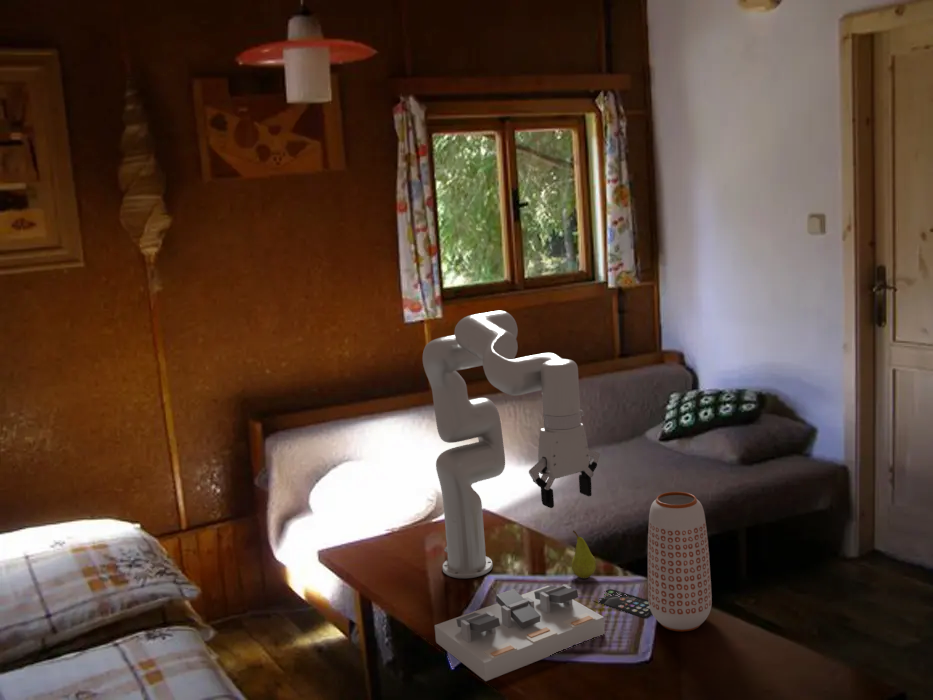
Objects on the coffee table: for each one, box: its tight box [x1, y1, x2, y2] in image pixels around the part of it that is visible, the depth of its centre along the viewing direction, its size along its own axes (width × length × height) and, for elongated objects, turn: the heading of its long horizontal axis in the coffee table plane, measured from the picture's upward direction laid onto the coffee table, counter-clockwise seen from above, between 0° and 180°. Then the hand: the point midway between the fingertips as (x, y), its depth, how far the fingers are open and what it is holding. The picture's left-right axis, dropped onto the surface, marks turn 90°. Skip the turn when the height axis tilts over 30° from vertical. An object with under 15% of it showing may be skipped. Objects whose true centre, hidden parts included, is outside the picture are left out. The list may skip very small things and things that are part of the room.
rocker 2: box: [495, 588, 541, 628], centre depth 210 cm, size 10×5×2 cm, turn 32°
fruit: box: [571, 530, 597, 579], centre depth 237 cm, size 6×6×12 cm
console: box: [434, 583, 606, 682], centre depth 210 cm, size 20×30×8 cm, turn 121°
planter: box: [647, 491, 713, 632], centre depth 210 cm, size 13×13×28 cm
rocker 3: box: [534, 585, 579, 603], centre depth 215 cm, size 10×5×2 cm, turn 30°
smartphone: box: [598, 588, 653, 619], centre depth 223 cm, size 7×1×15 cm
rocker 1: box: [456, 613, 500, 633], centre depth 205 cm, size 10×5×2 cm, turn 30°
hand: (567, 500), depth 204 cm, fingers open, 9 cm apart
